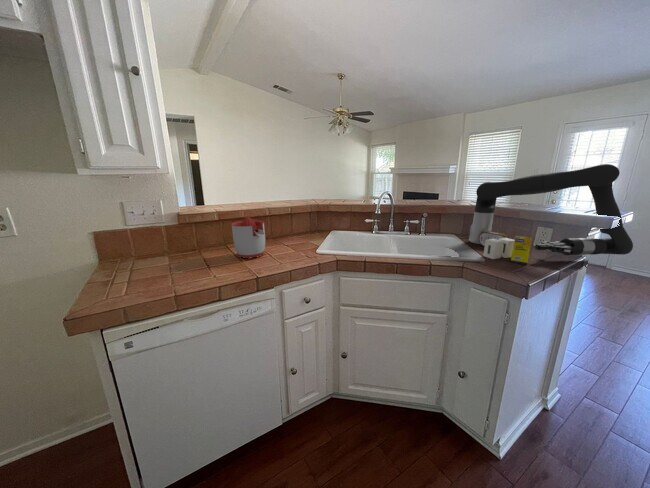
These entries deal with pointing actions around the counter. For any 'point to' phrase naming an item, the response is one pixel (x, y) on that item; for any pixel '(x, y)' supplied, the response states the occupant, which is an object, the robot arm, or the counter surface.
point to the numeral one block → (493, 248)
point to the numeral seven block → (507, 247)
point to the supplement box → (521, 249)
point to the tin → (490, 236)
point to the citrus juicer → (249, 237)
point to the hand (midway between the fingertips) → (536, 247)
